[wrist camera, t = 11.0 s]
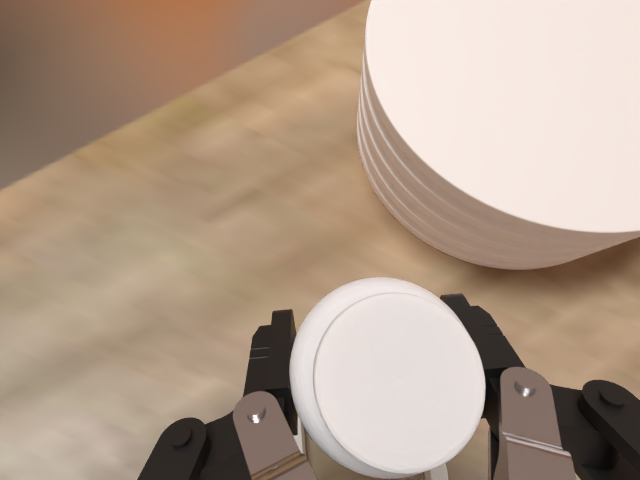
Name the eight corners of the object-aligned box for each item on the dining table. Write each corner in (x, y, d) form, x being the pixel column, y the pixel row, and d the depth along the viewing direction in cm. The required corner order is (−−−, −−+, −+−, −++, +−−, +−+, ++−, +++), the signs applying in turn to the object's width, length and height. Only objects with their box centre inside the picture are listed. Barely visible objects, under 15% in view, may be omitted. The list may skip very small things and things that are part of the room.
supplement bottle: (392, 444, 17) (475, 578, 7) (285, 389, 18) (232, 442, 8) (435, 333, 19) (555, 319, 9) (334, 285, 19) (339, 223, 9)
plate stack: (537, -19, 41) (610, -151, 30) (714, 189, 34) (895, 115, 23) (310, 78, 39) (300, -26, 28) (448, 324, 32) (508, 313, 21)
